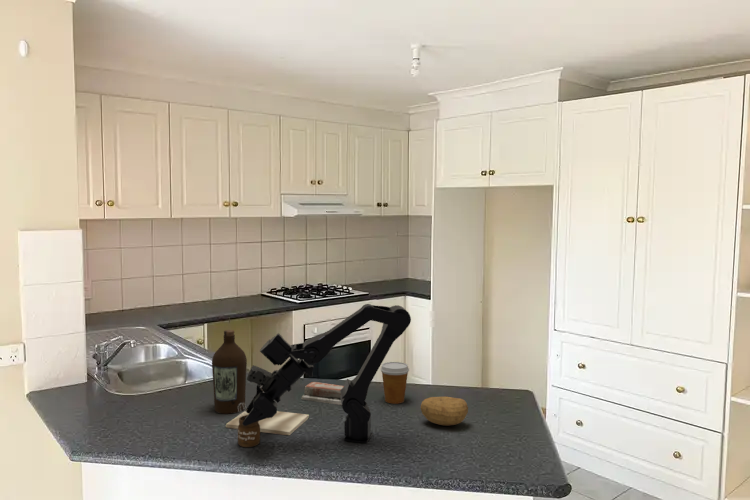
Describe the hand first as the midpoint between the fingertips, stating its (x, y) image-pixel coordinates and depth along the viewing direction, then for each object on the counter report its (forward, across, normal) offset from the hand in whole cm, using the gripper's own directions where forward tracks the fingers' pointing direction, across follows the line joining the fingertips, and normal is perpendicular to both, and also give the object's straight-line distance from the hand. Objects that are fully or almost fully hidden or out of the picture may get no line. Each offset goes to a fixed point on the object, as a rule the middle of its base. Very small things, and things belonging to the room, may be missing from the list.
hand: (245, 418), depth 151 cm
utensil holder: (+4, 0, +6) cm, 7 cm away
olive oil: (+10, -28, 0) cm, 30 cm away
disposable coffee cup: (-28, -29, +37) cm, 55 cm away
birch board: (+1, -14, +9) cm, 17 cm away
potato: (-35, -7, +45) cm, 58 cm away
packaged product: (-13, -34, +23) cm, 43 cm away
